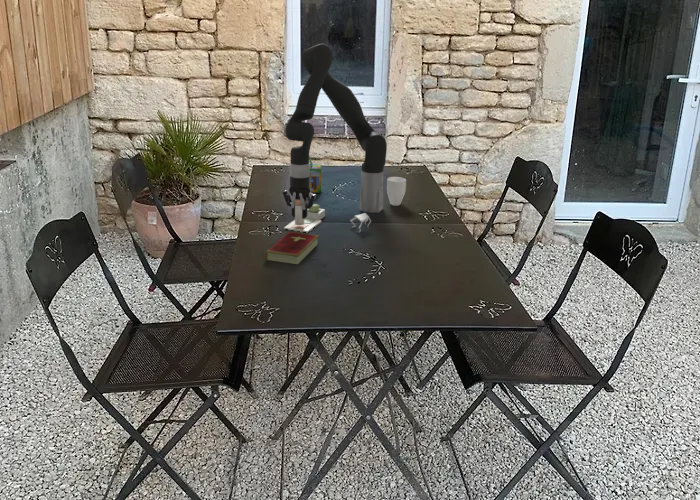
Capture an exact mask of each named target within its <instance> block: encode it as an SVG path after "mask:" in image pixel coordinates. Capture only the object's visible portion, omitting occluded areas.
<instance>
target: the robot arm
mask: <svg viewBox="0 0 700 500" xmlns="http://www.w3.org/2000/svg"><path fill="white" fill-rule="evenodd" d="M300 57H301V62H302V65H303V67H304V69H305V70H306V71H307V72H308V74H309V75H310V76H309V78H308V79H307V81H306V83H305V84H304V86H303V87H302V89H301V91H300V93H299V96H298V99H297V103H296V107H295V110H294V112H293V113H292V115H291V117H290V119H289V120H288V122H287V124H286V127H285V137H286V138H287V139H288V140H289V141H294V142H295V141H296V142H302V145H299V146H294V147H292V148H291V149H290V164H289V165H290V166H289V189H285V190H284V191H282V195H283V199H284V200H285V203H286V206H287V207H291V216H292V217H293V218H295V199H298V200H301V204H302V207H303V210H302V218H303V219H305V218H306V217H307V215H308V209H310V208H311V207H312V206H313V204H315V202H316V201H315V200H316V198H317V196H318V194H317V193H313V192H310V189H309V185H310V168H309V164H310V150H311V145H312V142H313V140H314V139H313V138H314V135H315V127H314V125H313V124H312V123H310V122H305V121H308V120H311V119H313V118H314V114H315V111H316V107H317V102H318V100H319V96H320V93H321V90H322V91H323V92H324V94H325V95H326V97H327V98H328V99H329V101H330V103H331V104H332V106H333V107H334V109H335V110H336V112H337V113H338V115H340V117H341V119H342V120H343V121H344V122H345V123H346V125H347V126H348V127H349V128H350V129H351V131H352V132H353V134H354V136H355V138H356V140H357V142H358V144H359V147H360V148H361V149H362V150H363V151H364V152H365V153H364V162H363V163H362V164H361V169H360V170H361V171H360V173H361V174H360V191H359V193H360V194H359V195H360V196H359V198H360V199H359V210H360V211H361V212H363V213H373V214H376V213H377V214H379V213H380V212H381V211H382V210H384V209H383V208H384V189H385V188H384V187H383V185H384V184H383V183H384V182H383V180H384V167H385V165H386V160H387V152H388V151H387V149H388V147H387V146H388V143H387V140H386V138H385V137H384V136H383V135H381V134H380V133H379V132H377V131H376V130H375V129H374V128H373V126H371V124H370V122H368V120H367V119H366V117H365V115H364V112H363V109H362V105H361V104H360V102H359V100H358V98H357V96H355V94H354V91H352V90H351V89H350V88H349V87H348V86H347V85H346V84H345V83H343V82H342V81H339V80H338V79H336V78H334V76H332V75H331V73H330V72H329V71H330V69H331V66H332V64H333V59H334V54H333V50H332V49H331V47H330V46H329V45H327V44H325V43H319V44H316V45H314V46H311V47H309V48H306V49H304V50H303V51H302V53H301V55H300ZM290 195H291V196H290ZM291 197H292V198H291ZM308 197H309V202H308ZM304 200H305V201H304Z"/></svg>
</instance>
